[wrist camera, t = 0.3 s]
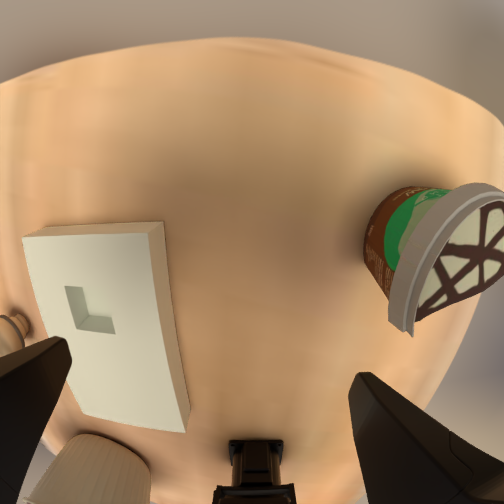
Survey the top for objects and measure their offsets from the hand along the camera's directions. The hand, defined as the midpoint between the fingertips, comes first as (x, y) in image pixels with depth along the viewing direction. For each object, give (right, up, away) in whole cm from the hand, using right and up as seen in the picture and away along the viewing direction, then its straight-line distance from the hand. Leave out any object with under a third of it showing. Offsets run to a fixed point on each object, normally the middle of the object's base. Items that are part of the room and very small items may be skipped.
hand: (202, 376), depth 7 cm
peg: (-25, -5, +17) cm, 31 cm away
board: (-11, -4, +16) cm, 20 cm away
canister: (-20, -28, +24) cm, 42 cm away
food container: (+14, +7, +13) cm, 20 cm away
